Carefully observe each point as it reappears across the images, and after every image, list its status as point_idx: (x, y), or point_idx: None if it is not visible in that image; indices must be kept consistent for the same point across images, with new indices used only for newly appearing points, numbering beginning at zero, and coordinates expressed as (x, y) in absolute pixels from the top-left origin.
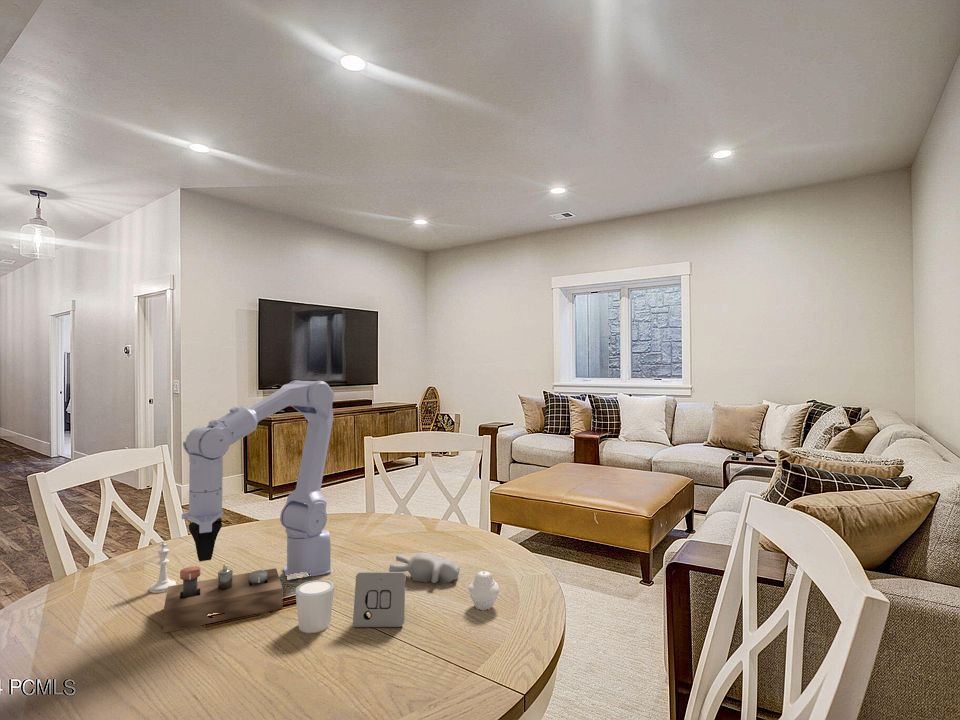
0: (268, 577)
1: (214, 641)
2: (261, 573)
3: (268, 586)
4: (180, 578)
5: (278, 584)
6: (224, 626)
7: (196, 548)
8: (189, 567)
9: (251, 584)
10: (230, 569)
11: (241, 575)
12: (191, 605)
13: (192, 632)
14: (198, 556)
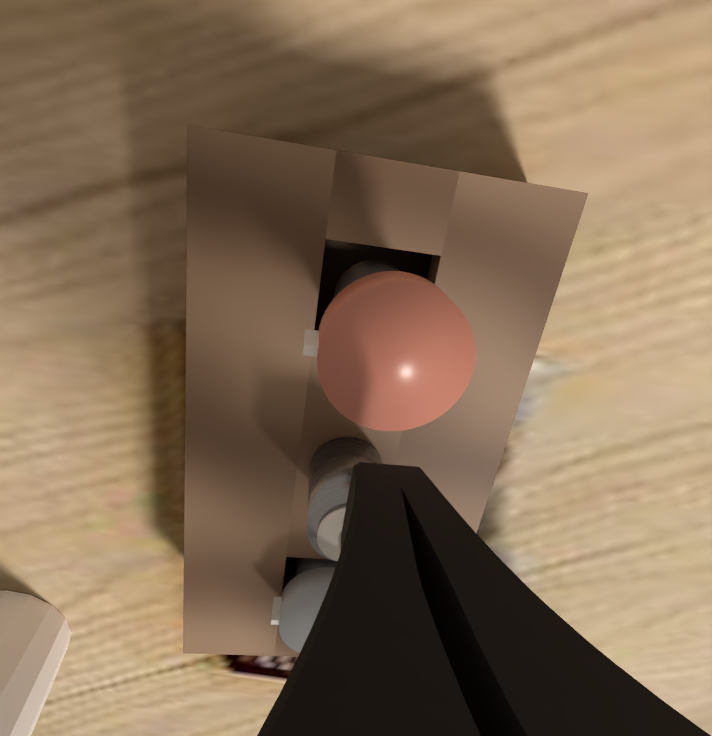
0: None
1: (15, 334)
2: None
3: (234, 615)
4: (379, 273)
5: (232, 646)
6: (149, 387)
7: (347, 549)
8: (463, 362)
9: None
10: None
11: None
12: (187, 291)
13: (154, 262)
14: (356, 491)
